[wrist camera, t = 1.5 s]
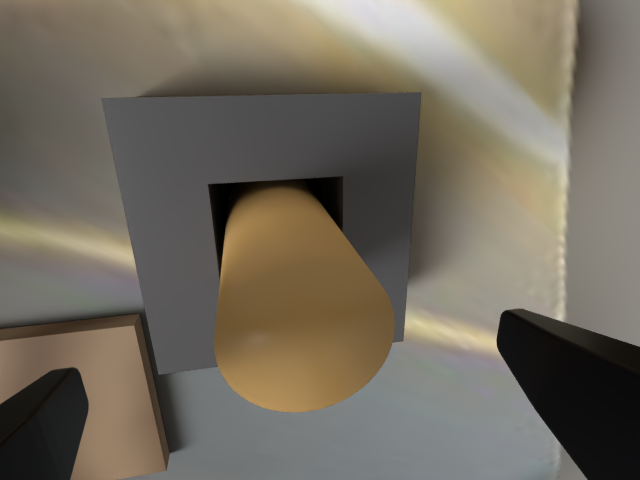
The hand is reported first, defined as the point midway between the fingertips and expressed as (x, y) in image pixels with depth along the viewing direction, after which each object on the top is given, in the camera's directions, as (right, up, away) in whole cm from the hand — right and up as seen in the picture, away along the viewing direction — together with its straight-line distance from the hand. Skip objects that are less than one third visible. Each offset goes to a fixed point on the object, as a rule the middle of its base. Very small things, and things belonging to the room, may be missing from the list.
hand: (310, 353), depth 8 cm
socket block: (-2, +4, +9) cm, 10 cm away
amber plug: (-2, +4, +9) cm, 10 cm away
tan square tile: (-13, -6, +11) cm, 17 cm away
